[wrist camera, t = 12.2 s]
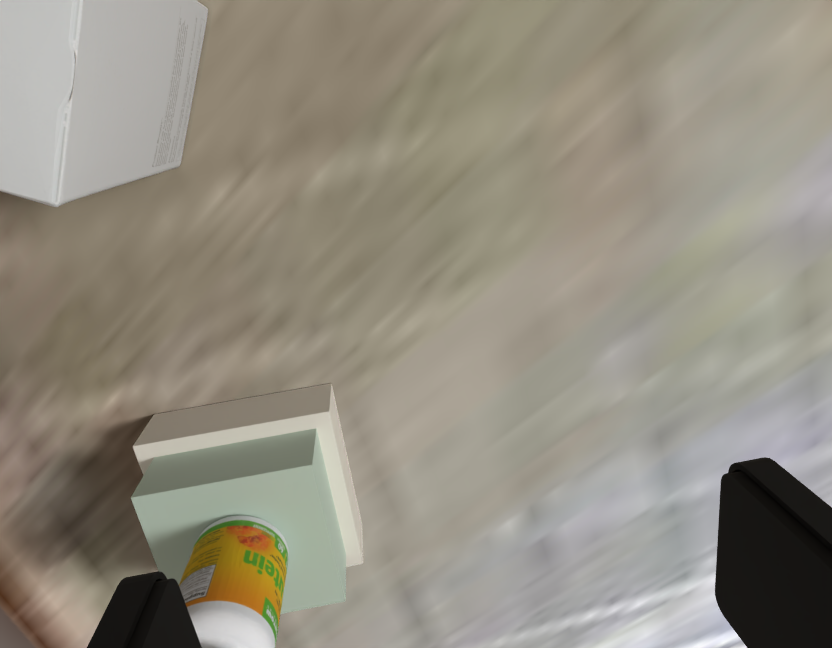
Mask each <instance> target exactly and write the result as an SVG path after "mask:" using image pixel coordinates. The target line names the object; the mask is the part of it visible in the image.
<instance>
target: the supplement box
mask: <svg viewBox="0 0 832 648" xmlns="http://www.w3.org/2000/svg"><path fill="white" fill-rule="evenodd" d="M207 15H208V9H207V8H206V7H205V6H204V5H202V4H201V3H199V2H198V1H196V0H0V191H1V192H5V193H8V194H11V195H15V196H18V197H22V198H25V199H28V200H32V201H35V202H39V203H42V204H46V205H49V206H53V207H58V206H60V205H62V204H65V203H67V202H70V201H73V200H76V199H79V198H82V197H85V196H88V195H91V194H94V193H97V192H100V191H104V190H107V189H110V188H113V187H116V186H120V185H123V184H126V183H129V182H132V181H135V180H138V179H141V178H145V177H148V176H151V175H155V174H158V173H161V172H164V171H167V170H170V169H174V168H177V167H179V166H180V164H181V159H182V154H183V148H184V143H185V137H186V132H187V126H188V121H189V116H190V110H191V105H192V99H193V94H194V88H195V83H196V77H197V71H198V66H199V60H200V55H201V49H202V44H203V38H204V33H205V27H206V21H207Z"/></svg>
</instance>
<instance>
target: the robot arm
mask: <svg viewBox="0 0 832 648" xmlns="http://www.w3.org/2000/svg"><path fill="white" fill-rule="evenodd" d="M715 596H716V600H717V603H718V606H719V608H720V610H721V612H722V614H723V615H724V617H725V618H726V620H727V621H728V622H729V624H730V625H731V626H732V628H733V629H734V630H735V632H736V633H737V634H738V636H739V637H740V638H741V640H742V641H743V642H744V644H745V645H746V646H747V648H832V507H830V506H829V505H828V504H827V503H825V502H824V501H823V500H822V499H820V498H819V497H818V496H817V495H816V494H814V493H813V492H812V491H811V490H809V489H808V488H807V487H806V486H804V485H803V484H802V483H801V482H800V481H798V480H797V479H796V478H795V477H793V476H792V475H791V474H790V473H788V472H787V471H786V470H785V469H784V468H782V467H781V466H780V465H779V464H777V463H776V462H775V461H773V460H772V459H770V458H765V457H764V458H759V459H754V460H749V461H743V462H738V463H734V464H732V465H731V466H730V468H729V472H728V473H727V474H724V475H723V476H722V479H721V491H720V510H719V528H718V547H717V565H716V583H715ZM87 648H202V647H201V644H200V642H199V639H198V636H197V633H196V631H195V628H194V625H193V623H192V620H191V617H190V614H189V612H188V609H187V606H186V604H185V601H184V598H183V596H182V593H181V590H180V587H179V585H178V583H177V581H176V580H175V579H173V578H171V579H167V578H166V576H165V574H164V573H163V572H153V573H148V574H142V575H137V576H132V577H126V578H124V579H123V580H121V582H120V583H119V585H118V586H117V588H116V590H115V592H114V594H113V596H112V599H111V601H110V603H109V605H108V607H107V609H106V611H105V613H104V615H103V617H102V619H101V621H100V623H99V625H98V627H97V629H96V631H95V633H94V635H93V637H92V639H91V641H90V643H89V645H88V647H87Z"/></svg>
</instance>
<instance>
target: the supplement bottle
mask: <svg viewBox="0 0 832 648" xmlns="http://www.w3.org/2000/svg"><path fill="white" fill-rule="evenodd" d="M288 560H289V550H288V546H287V542H286V540H285V538H284V536H283V535H282V534H281V532H280V531H279V530H278V529H277V528H276V527H274V526H273V525H272V524H270V523H268V522H267V521H265V520H262V519H260V518H256V517H252V516H244V515H238V516H230V517H226V518H223V519H220V520H218V521H216V522H214V523H213V524H211V525H210V526H208V527H207V528H206V529H205V530H204V531H203V532H202V533H201V534H200V536H199V537H198V539H197V541H196V543H195V545H194V547H193V550H192V552H191V555H190V557H189V560H188V562H187V565H186V568H185V571H184V573H183V576H182V578H181V581H180V584H179V587H180V590H181V593H182V596H183V598H184V601H185V604H186V606H187V609H188V612H189V614H190V617H191V620H192V623H193V625H194V628H195V631H196V633H197V636H198V639H199V642H200V644H201V647H202V648H275V646H276V640H277V633H278V626H279V619H280V613H281V607H282V600H283V593H284V587H285V580H286V574H287V568H288Z"/></svg>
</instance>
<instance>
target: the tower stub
mask: <svg viewBox="0 0 832 648" xmlns="http://www.w3.org/2000/svg"><path fill="white" fill-rule="evenodd" d="M133 449H134V452H135V454H136V457H137V460H138V462H139V465H140V468H141V471H142V473H143V477H142V479H141V481H140V483H139V484H138V486H137V488H136V489H135V491H134V493H133V495H132V496H131V500H132V503H133V505H134V508H135V511H136V513H137V516H138V518H139V521H140V524H141V526H142V529H143V531H144V534H145V537H146V539H147V542H148V544H149V547H150V550H151V552H152V555H153V557H154V560H155V563H156V565H157V568H158V570H159V572H163V573H164V574H165V576H166V578H167V579H171V578H173V579H175V580H176V581H177V583H178V585H179V584H180V581H181V578H182V576H183V573H184V571H185V568H186V565H187V562H188V560H189V557H190V555H191V552H192V550H193V547H194V545H195V543H196V541H197V539H198V537H199V536H200V534H201V533H202V532H203V531H204V530H205V529H206V528H207V527H208V526H210V525H211V524H213V523H214V522H216V521H218V520H220V519H223V518H226V517H230V516H238V515H244V516H252V517H256V518H260V519H262V520H265V521H267V522H268V523H270V524H272V525H273V526H274V527H276V528H277V529H278V530H279V531H280V532H281V534H282V535H283V536H284V538H285V540H286V542H287V546H288V550H289V560H288V568H287V574H286V580H285V587H284V593H283V600H282V607H281V613H280V614H283V613H288V612H293V611H298V610H303V609H309V608H314V607H319V606H324V605H329V604H334V603H339V602H344V601H346V567H349V566H354V565H359V564H363V533H362V521H361V517H360V512H359V508H358V503H357V498H356V494H355V489H354V485H353V480H352V475H351V471H350V466H349V462H348V457H347V452H346V448H345V443H344V439H343V434H342V429H341V425H340V420H339V416H338V411H337V406H336V402H335V397H334V393H333V388H332V383H330V384H324V385H318V386H313V387H307V388H301V389H296V390H290V391H284V392H279V393H273V394H267V395H261V396H256V397H250V398H244V399H239V400H233V401H227V402H222V403H216V404H210V405H205V406H199V407H193V408H188V409H182V410H176V411H171V412H165V413H159V414H154V415H153V417H152V418H151V420H150V421H149V423H148V424H147V426H146V427H145V429H144V430H143V432H142V433H141V435H140V436H139V438H138V439H137V441H136V442H135V444H134V445H133Z"/></svg>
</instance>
